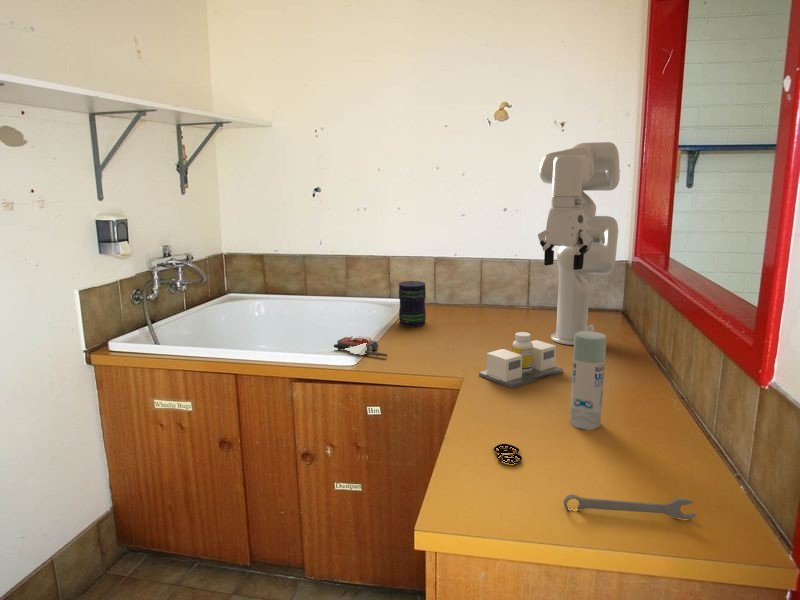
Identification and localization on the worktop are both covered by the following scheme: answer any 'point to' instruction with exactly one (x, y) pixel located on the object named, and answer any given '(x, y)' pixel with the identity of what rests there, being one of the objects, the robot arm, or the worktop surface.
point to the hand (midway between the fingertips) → (563, 267)
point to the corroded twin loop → (508, 452)
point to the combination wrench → (634, 506)
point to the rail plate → (524, 376)
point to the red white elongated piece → (352, 342)
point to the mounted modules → (519, 361)
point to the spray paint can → (587, 379)
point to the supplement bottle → (524, 349)
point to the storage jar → (412, 303)
